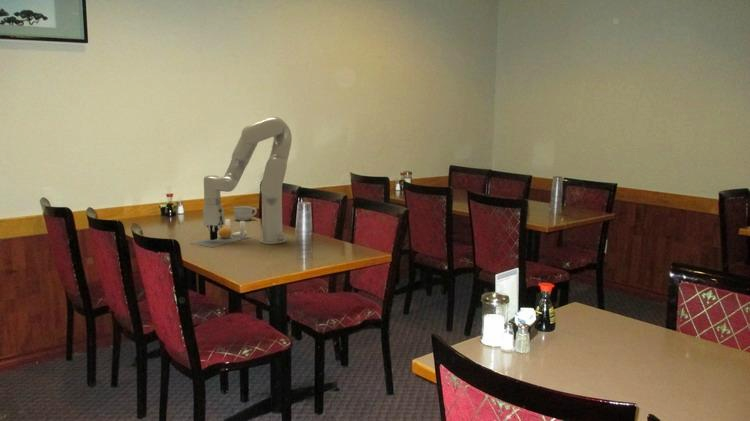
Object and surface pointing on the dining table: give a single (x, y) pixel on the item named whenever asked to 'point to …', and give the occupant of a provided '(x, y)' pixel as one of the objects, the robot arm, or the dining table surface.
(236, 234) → the front pin
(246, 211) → the teacup
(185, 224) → the dining table surface
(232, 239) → the gray flat board
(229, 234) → the ball
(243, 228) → the back pin left
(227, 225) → the back pin right
